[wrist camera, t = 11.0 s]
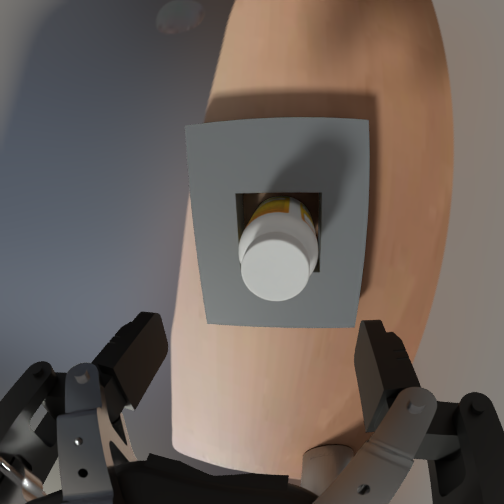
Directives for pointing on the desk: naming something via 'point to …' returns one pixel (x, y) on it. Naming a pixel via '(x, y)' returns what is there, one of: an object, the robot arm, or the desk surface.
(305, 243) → the supplement bottle
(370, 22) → the desk surface
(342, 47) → the desk surface
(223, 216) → the socket holder
